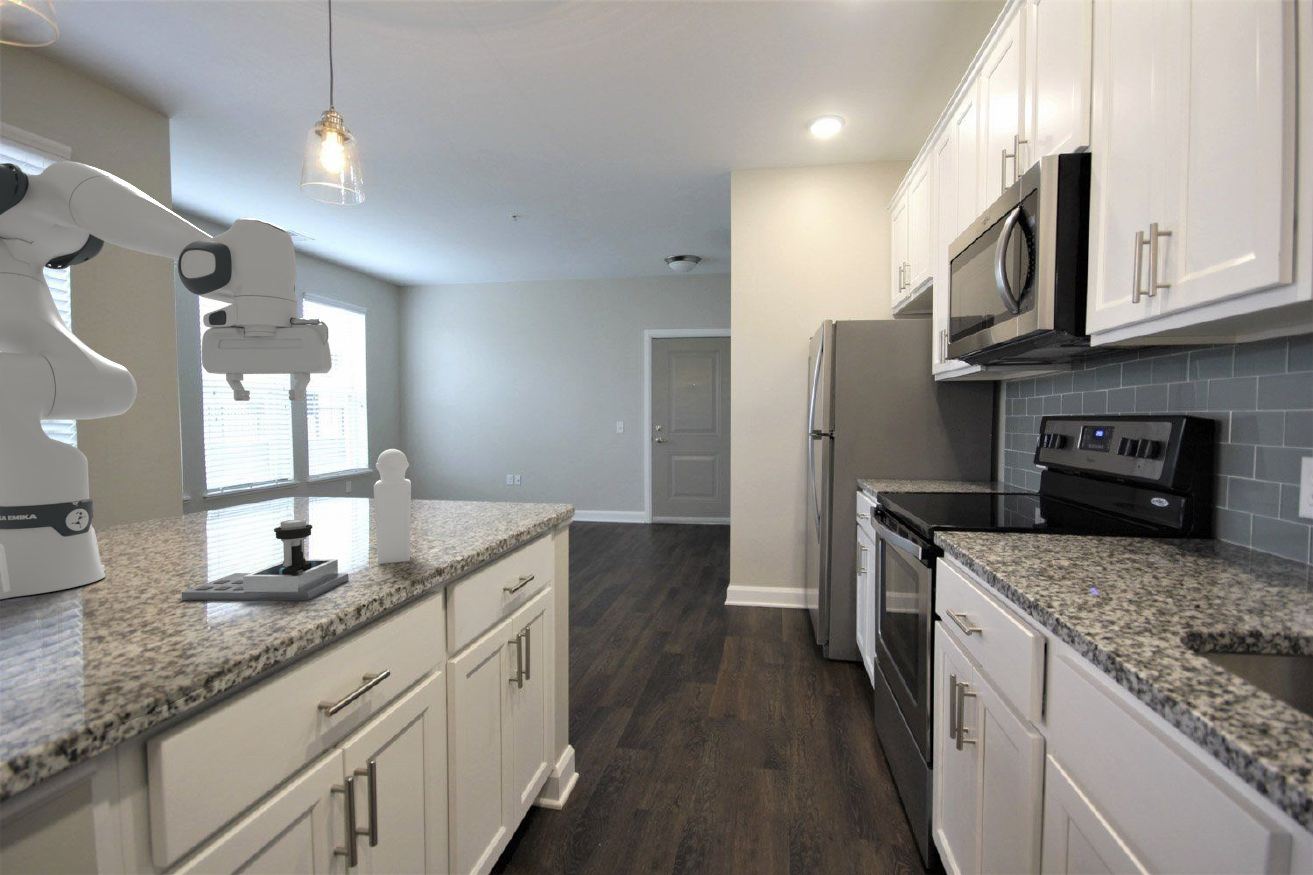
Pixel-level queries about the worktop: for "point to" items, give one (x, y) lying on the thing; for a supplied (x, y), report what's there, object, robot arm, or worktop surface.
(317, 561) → the organizer
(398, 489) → the white bottle
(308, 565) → the push button
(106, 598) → the worktop surface
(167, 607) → the worktop surface
